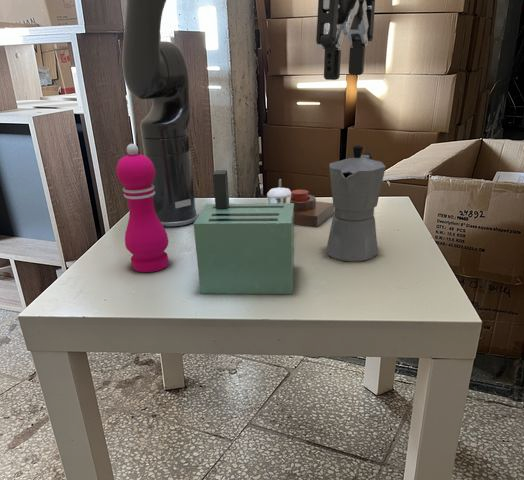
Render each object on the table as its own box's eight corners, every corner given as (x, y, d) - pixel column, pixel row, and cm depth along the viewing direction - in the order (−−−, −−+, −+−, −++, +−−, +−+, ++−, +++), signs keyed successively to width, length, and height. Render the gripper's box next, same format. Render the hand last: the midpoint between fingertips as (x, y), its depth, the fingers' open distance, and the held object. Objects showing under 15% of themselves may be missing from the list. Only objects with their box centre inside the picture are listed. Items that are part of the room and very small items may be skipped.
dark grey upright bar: (215, 208, 79) (212, 173, 77) (218, 204, 82) (215, 170, 79) (227, 208, 79) (224, 173, 77) (229, 204, 81) (227, 170, 79)
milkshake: (292, 230, 104) (292, 179, 99) (290, 239, 99) (290, 186, 94) (269, 230, 104) (268, 179, 99) (267, 239, 100) (265, 186, 95)
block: (264, 220, 110) (263, 201, 108) (284, 207, 117) (284, 189, 115) (317, 227, 105) (317, 207, 103) (334, 213, 113) (335, 194, 111)
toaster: (200, 293, 80) (193, 223, 74) (211, 268, 88) (205, 203, 82) (291, 294, 78) (291, 222, 73) (294, 268, 87) (293, 202, 81)
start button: (288, 201, 109) (288, 193, 108) (295, 197, 112) (295, 188, 111) (304, 203, 107) (304, 194, 106) (311, 198, 110) (311, 190, 109)
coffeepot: (369, 269, 85) (378, 154, 76) (314, 262, 89) (316, 152, 79) (388, 239, 97) (398, 137, 88) (339, 234, 101) (344, 135, 91)
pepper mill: (136, 277, 86) (113, 150, 76) (124, 263, 92) (102, 143, 81) (177, 268, 89) (161, 144, 78) (164, 255, 94) (147, 138, 84)
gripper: (348, -52, 76) (341, 73, 85) (301, -63, 66) (299, 80, 75) (397, -57, 73) (385, 74, 81) (356, -69, 63) (347, 82, 71)
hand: (344, 77), depth 78 cm, fingers open, 8 cm apart
